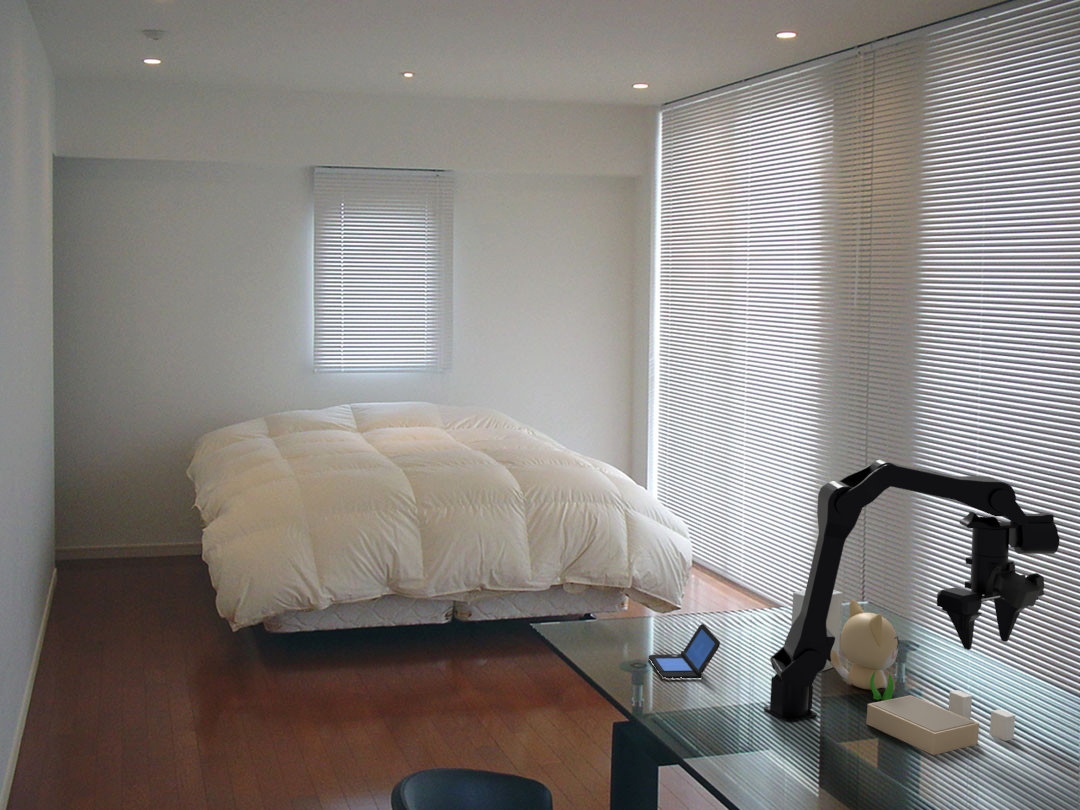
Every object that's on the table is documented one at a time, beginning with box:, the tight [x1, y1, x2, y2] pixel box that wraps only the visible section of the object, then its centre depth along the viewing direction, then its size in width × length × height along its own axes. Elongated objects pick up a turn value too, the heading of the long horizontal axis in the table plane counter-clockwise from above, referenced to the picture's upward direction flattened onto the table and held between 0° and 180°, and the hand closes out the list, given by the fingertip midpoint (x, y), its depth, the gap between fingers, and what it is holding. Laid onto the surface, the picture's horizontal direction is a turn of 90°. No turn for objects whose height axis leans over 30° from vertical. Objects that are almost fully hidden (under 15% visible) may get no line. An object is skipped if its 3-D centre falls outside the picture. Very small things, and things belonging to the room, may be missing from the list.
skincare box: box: [790, 589, 843, 673], centre depth 213 cm, size 8×6×15 cm
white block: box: [989, 708, 1016, 742], centre depth 182 cm, size 9×6×4 cm
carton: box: [866, 694, 980, 756], centre depth 181 cm, size 10×14×4 cm
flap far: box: [948, 689, 973, 720], centre depth 189 cm, size 9×6×4 cm
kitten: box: [830, 599, 900, 701], centre depth 202 cm, size 15×10×15 cm
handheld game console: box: [648, 623, 721, 678], centre depth 210 cm, size 12×11×7 cm
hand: (986, 645), depth 188 cm, fingers open, 9 cm apart
